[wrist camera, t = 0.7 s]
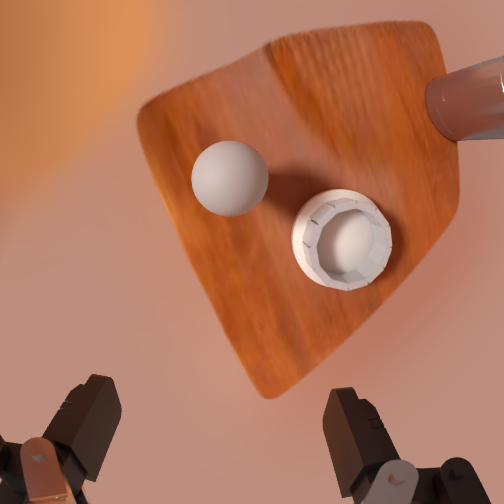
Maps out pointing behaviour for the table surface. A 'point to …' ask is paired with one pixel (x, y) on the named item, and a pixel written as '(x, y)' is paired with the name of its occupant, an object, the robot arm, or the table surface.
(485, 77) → the robot arm
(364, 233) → the lamp base
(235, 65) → the table surface
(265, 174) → the lightbulb
